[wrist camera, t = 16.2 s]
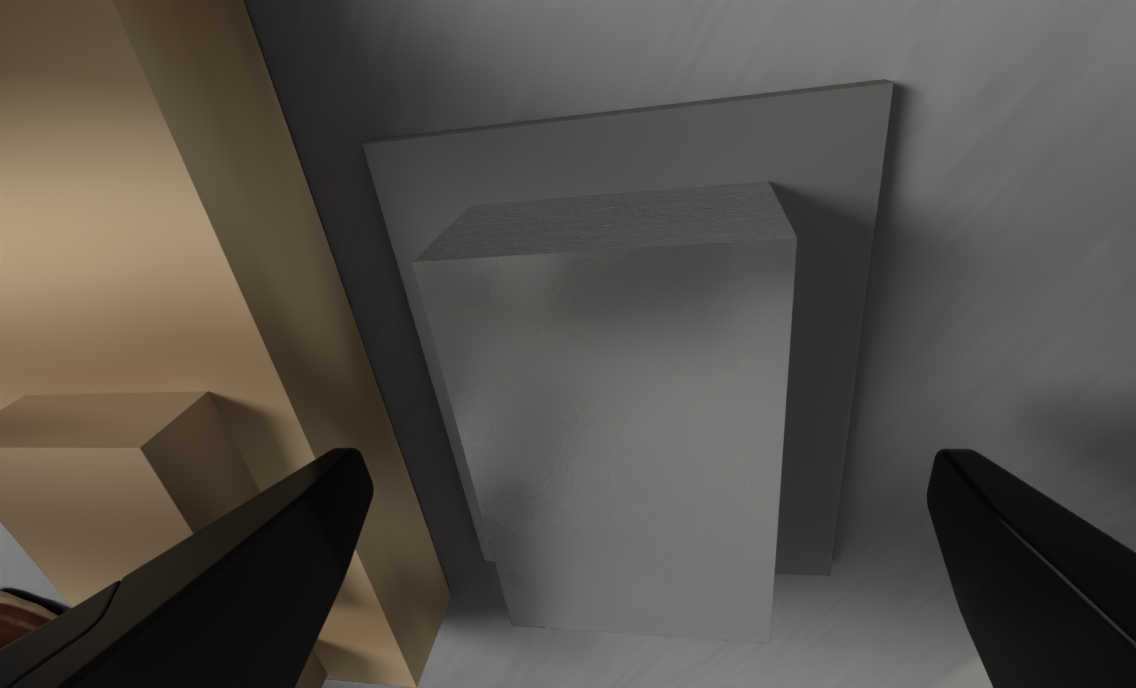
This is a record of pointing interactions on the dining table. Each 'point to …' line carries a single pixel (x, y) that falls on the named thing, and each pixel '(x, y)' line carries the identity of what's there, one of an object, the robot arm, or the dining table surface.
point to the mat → (681, 160)
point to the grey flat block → (623, 401)
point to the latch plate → (180, 318)
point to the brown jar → (20, 617)
